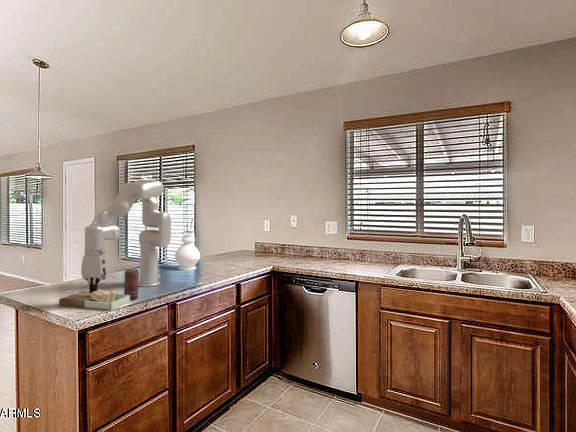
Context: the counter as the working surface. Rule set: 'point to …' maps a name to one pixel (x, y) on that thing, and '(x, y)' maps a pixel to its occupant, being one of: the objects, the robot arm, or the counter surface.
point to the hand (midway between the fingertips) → (93, 292)
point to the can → (131, 284)
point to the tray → (117, 302)
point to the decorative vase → (187, 253)
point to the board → (76, 300)
